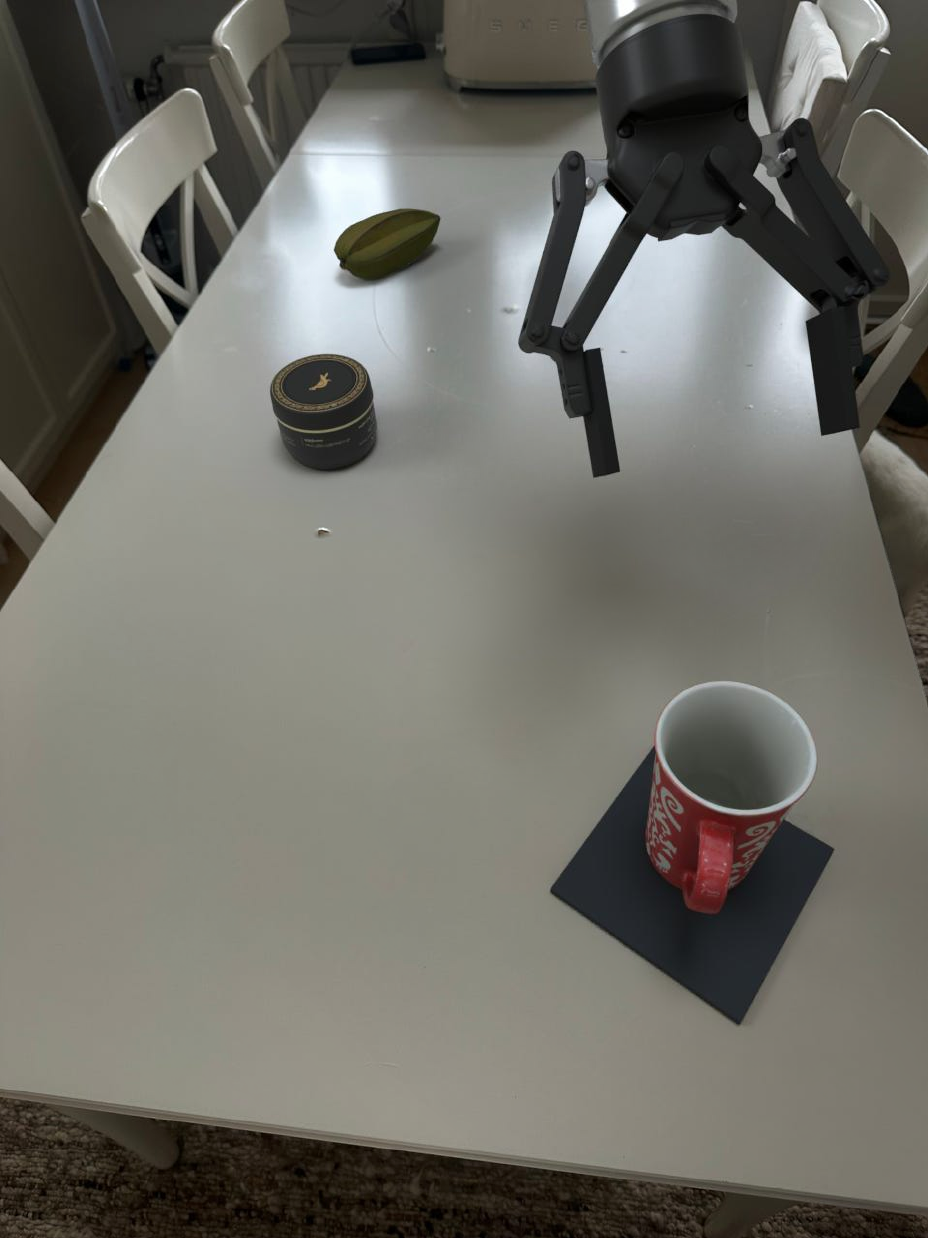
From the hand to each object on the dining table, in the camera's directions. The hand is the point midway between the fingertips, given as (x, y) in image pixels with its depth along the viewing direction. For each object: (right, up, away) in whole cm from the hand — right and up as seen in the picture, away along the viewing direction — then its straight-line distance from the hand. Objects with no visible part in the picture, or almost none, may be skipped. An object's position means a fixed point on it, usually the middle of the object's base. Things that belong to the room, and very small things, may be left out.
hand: (724, 454), depth 48 cm
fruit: (-24, +36, +64) cm, 77 cm away
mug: (+1, -26, +11) cm, 29 cm away
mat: (+1, -26, +12) cm, 29 cm away
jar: (-28, +9, +42) cm, 52 cm away
